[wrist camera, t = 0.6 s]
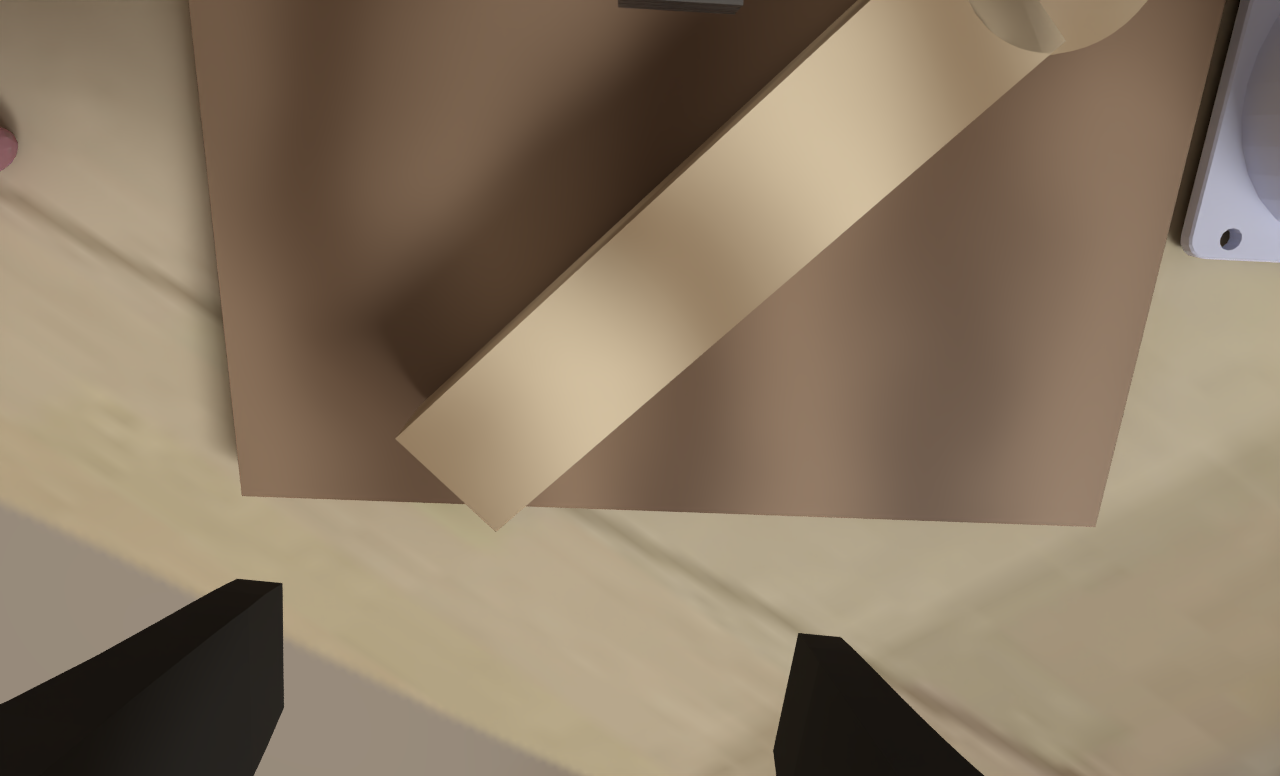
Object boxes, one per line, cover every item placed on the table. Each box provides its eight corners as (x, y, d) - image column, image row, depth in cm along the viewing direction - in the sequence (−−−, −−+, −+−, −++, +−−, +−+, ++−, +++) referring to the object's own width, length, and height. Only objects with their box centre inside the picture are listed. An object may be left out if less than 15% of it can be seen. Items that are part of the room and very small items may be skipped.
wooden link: (1037, -202, 16) (1204, -338, 11) (1143, -33, 16) (1336, -95, 12) (404, 390, 19) (338, 468, 14) (523, 503, 20) (495, 608, 15)
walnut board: (1329, -593, 15) (1387, -653, 14) (1070, 506, 22) (1095, 526, 21) (146, -702, 14) (104, -775, 13) (262, 476, 21) (242, 496, 20)
